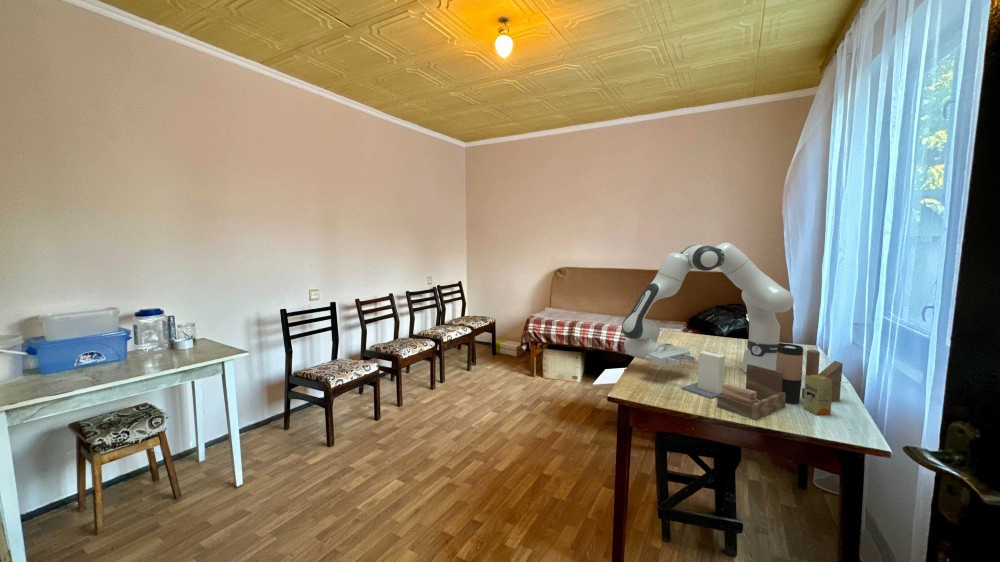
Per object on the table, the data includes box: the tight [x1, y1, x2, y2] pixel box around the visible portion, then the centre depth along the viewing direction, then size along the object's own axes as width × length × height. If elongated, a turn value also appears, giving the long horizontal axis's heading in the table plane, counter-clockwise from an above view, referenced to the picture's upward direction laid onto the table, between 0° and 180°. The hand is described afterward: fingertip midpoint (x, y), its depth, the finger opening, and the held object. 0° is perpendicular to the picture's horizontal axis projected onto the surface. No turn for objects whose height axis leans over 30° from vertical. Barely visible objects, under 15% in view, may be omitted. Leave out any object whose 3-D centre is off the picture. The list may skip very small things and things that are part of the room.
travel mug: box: [776, 343, 804, 405], centre depth 140 cm, size 8×8×20 cm
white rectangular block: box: [697, 350, 726, 394], centre depth 149 cm, size 4×8×14 cm, turn 31°
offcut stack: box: [722, 383, 759, 405], centre depth 132 cm, size 4×10×8 cm, turn 31°
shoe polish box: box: [803, 374, 833, 416], centre depth 130 cm, size 5×5×12 cm
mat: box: [681, 381, 723, 399], centre depth 151 cm, size 14×12×1 cm
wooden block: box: [801, 349, 843, 402], centre depth 141 cm, size 4×11×18 cm, turn 85°
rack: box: [716, 364, 786, 421], centre depth 135 cm, size 20×12×12 cm, turn 121°
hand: (687, 361), depth 157 cm, fingers open, 8 cm apart
